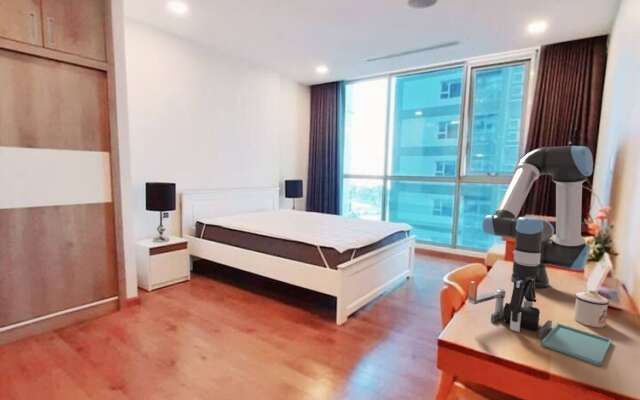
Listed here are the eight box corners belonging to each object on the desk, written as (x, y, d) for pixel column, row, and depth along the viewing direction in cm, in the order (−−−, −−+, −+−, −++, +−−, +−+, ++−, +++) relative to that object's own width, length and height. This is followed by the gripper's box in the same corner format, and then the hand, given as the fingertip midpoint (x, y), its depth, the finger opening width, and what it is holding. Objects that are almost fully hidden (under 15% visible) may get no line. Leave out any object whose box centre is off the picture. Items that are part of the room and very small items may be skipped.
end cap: (502, 324, 114) (503, 305, 114) (507, 317, 120) (508, 299, 119) (536, 334, 108) (538, 314, 107) (539, 326, 113) (541, 307, 113)
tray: (557, 326, 113) (557, 323, 113) (611, 343, 103) (611, 339, 103) (540, 345, 101) (541, 341, 100) (600, 366, 90) (600, 362, 90)
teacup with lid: (605, 331, 111) (609, 297, 110) (571, 322, 117) (574, 290, 116) (607, 319, 120) (610, 288, 118) (575, 311, 126) (578, 281, 125)
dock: (500, 312, 124) (502, 292, 123) (551, 328, 112) (553, 305, 111) (488, 320, 116) (490, 299, 116) (541, 338, 105) (543, 315, 104)
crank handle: (507, 296, 118) (508, 276, 117) (474, 306, 109) (475, 284, 108) (498, 293, 121) (499, 273, 120) (465, 303, 112) (467, 281, 111)
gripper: (525, 255, 123) (520, 311, 125) (500, 267, 106) (495, 331, 108) (549, 259, 117) (544, 318, 119) (527, 272, 101) (521, 340, 103)
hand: (521, 324), depth 114 cm, fingers open, 12 cm apart
